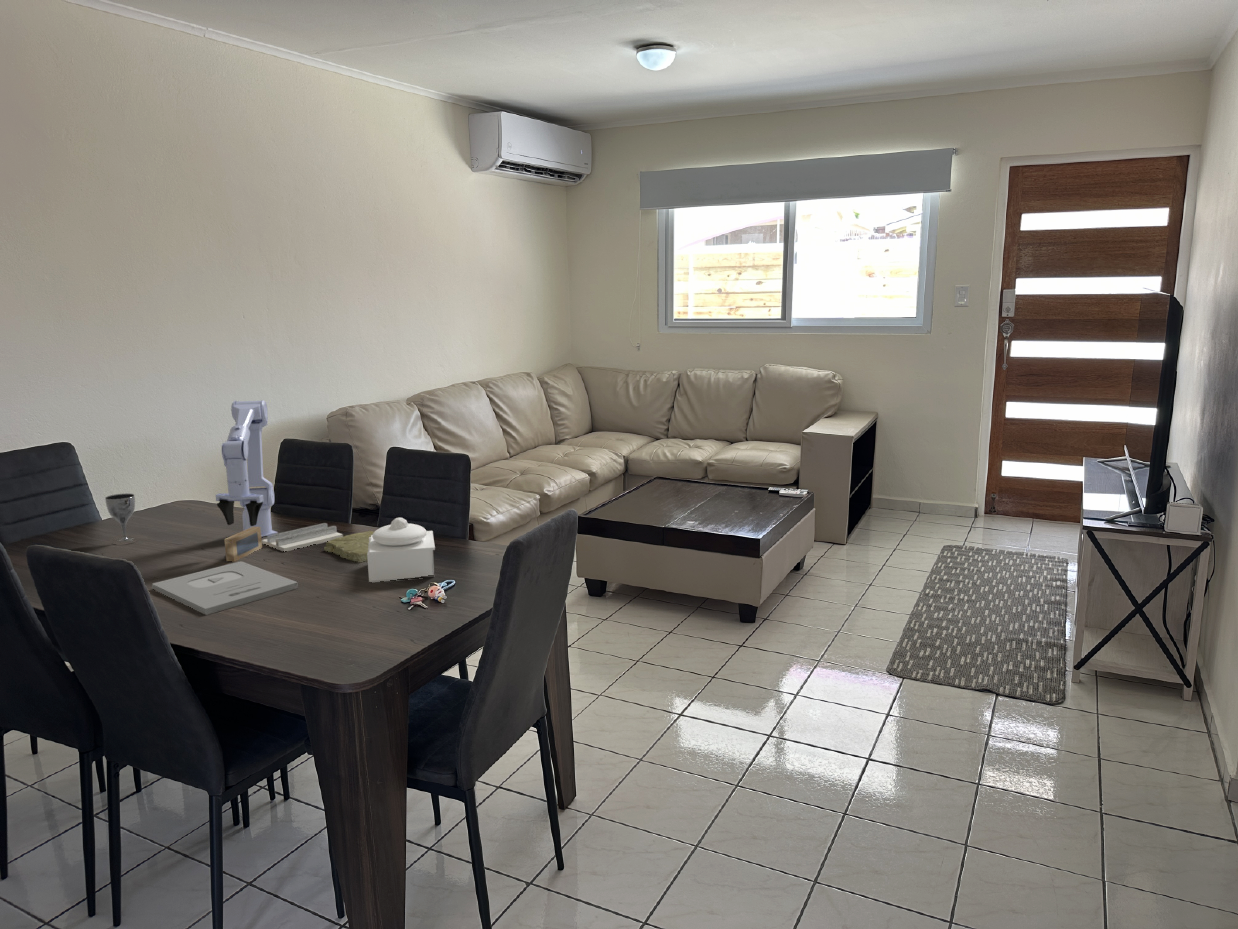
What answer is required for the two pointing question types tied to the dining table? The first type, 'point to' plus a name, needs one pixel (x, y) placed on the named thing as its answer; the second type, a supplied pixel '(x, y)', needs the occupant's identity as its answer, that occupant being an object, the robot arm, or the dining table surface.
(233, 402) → the robot arm
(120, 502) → the wine glass
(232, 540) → the tan wooden frame
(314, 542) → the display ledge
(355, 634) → the dining table surface
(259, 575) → the award plaque
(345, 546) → the mossy green slab
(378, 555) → the butter dish
